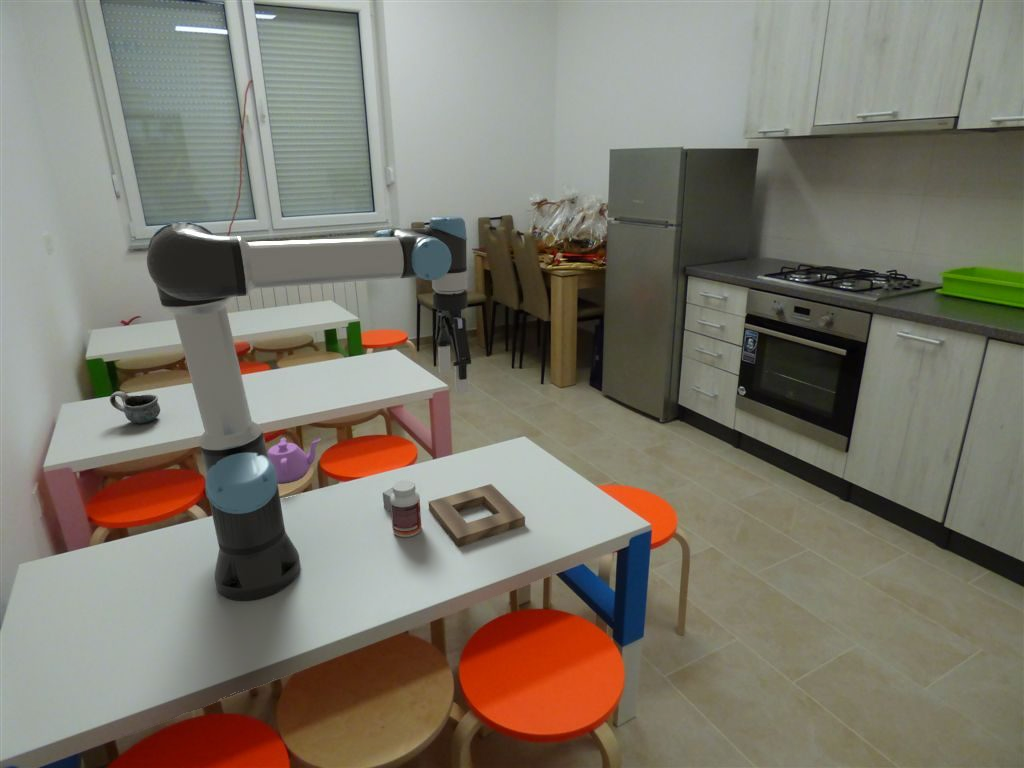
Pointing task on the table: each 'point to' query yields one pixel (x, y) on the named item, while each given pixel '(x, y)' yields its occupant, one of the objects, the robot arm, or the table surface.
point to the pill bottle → (405, 509)
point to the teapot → (291, 460)
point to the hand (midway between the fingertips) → (453, 382)
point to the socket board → (482, 528)
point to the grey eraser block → (387, 498)
